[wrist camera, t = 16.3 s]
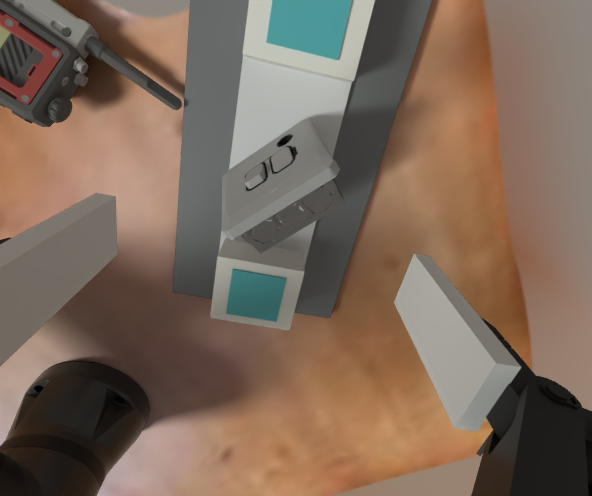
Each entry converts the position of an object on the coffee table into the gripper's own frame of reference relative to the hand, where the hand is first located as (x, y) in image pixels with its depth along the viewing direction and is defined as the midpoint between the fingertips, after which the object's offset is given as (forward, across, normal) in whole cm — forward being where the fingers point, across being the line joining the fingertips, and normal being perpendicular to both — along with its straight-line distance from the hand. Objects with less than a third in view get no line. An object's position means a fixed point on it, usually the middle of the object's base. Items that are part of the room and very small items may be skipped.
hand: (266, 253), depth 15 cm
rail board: (+19, 0, 0) cm, 19 cm away
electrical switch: (+17, 0, 0) cm, 17 cm away
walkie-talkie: (+14, +19, -5) cm, 25 cm away
